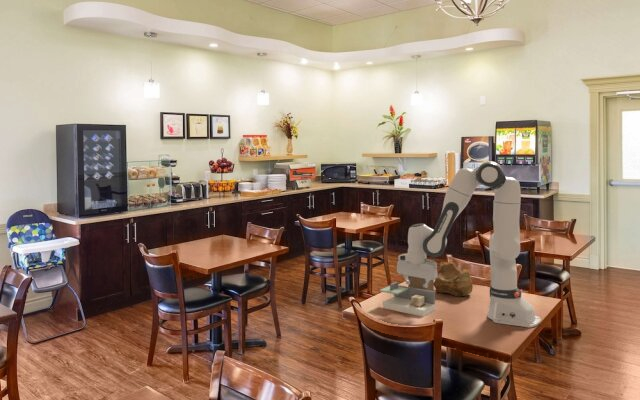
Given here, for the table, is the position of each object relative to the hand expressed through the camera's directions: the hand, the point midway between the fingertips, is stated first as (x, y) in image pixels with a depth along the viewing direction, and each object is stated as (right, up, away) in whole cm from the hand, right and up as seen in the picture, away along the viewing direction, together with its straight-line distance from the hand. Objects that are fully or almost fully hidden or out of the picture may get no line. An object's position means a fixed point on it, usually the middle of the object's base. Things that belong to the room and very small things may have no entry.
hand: (416, 285), depth 236 cm
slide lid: (-10, -4, +8) cm, 13 cm away
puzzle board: (-3, -12, +4) cm, 13 cm away
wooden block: (+6, -10, +20) cm, 23 cm away
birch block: (+1, -12, +1) cm, 12 cm away
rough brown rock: (+23, -9, +29) cm, 38 cm away
